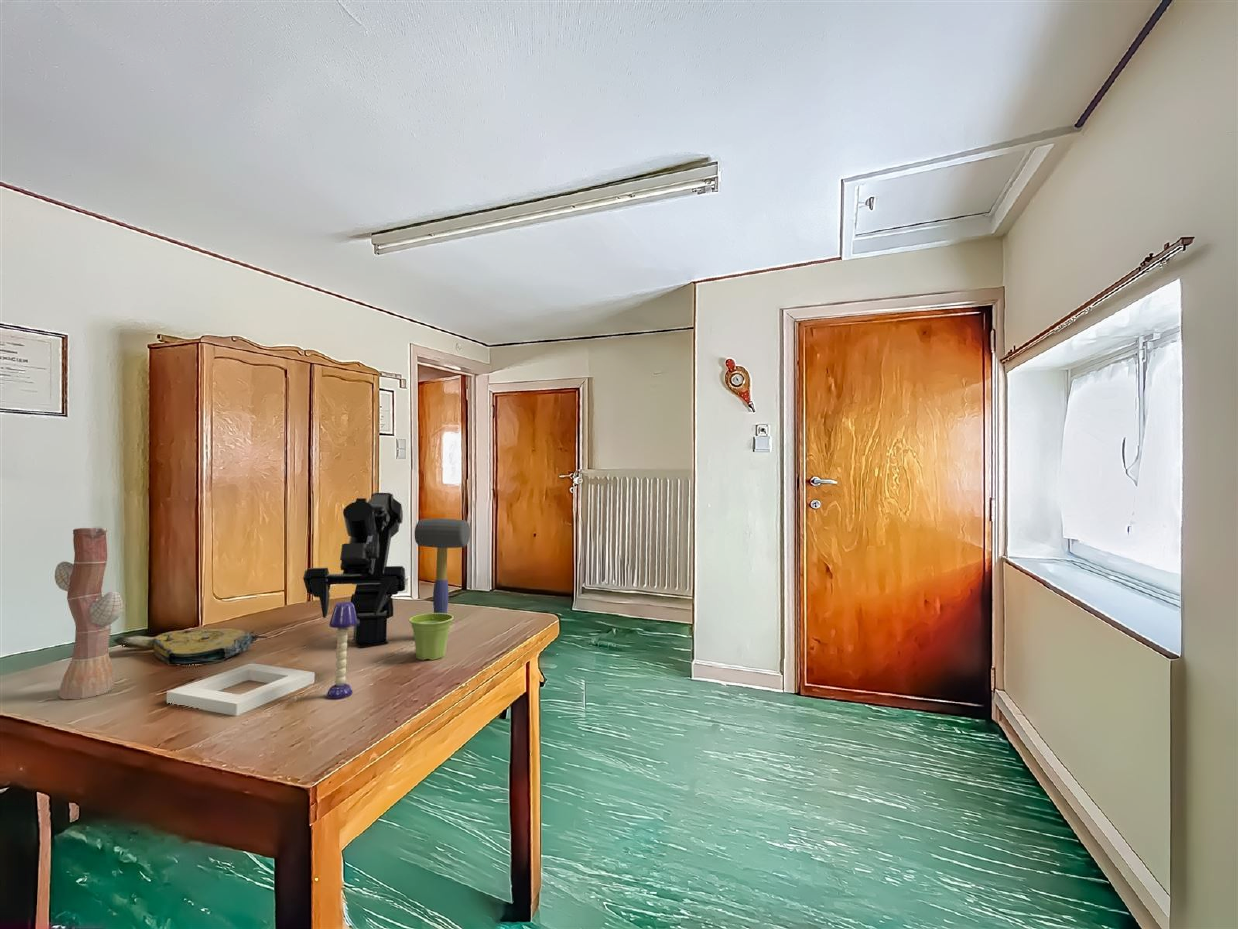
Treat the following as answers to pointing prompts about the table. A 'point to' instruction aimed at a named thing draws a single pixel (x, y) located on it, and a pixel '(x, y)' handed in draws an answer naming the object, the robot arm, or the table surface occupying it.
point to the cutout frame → (211, 699)
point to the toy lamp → (342, 647)
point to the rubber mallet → (442, 550)
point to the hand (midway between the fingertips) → (350, 615)
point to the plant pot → (431, 634)
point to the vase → (88, 615)
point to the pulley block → (193, 645)
